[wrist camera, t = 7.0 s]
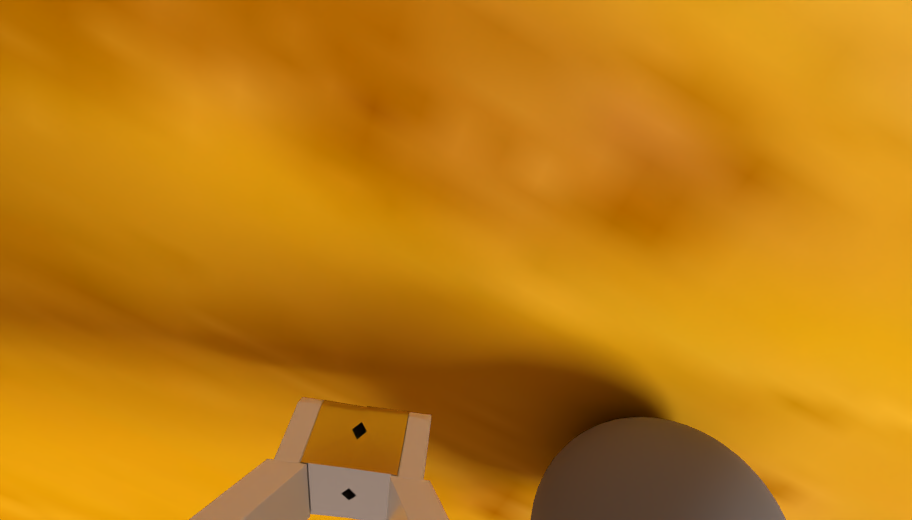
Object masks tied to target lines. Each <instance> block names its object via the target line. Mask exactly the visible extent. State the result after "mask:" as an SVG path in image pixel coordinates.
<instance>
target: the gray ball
mask: <svg viewBox="0 0 912 520" xmlns="http://www.w3.org/2000/svg"><path fill="white" fill-rule="evenodd" d="M531 520H786V519H785V517H784V515H783V513H782V511H781V509H780V507H779V505H778V503H777V502H776V500H775V499H774V497H773V495H772V494H771V493H770V491H769V490H768V488H767V487H766V485H765V484H764V483H763V481H762V480H761V479H760V478H759V477H758V475H757V474H756V473H755V472H754V471H753V470H752V469H751V468H750V467H749V466H748V465H747V464H746V463H745V462H744V461H743V460H742V459H741V458H740V457H739V456H738V455H736V454H735V453H734V452H732V451H731V450H730V449H729V448H727V447H726V446H725V445H723V444H722V443H720V442H719V441H717V440H716V439H714V438H712V437H711V436H709V435H707V434H705V433H703V432H701V431H699V430H697V429H694V428H692V427H689V426H687V425H684V424H681V423H677V422H674V421H670V420H665V419H660V418H653V417H631V418H620V419H616V420H612V421H608V422H605V423H602V424H599V425H597V426H594V427H592V428H590V429H589V430H587V431H585V432H583V433H581V434H580V435H578V436H577V437H576V438H574V439H573V440H572V441H570V442H569V443H568V444H567V445H566V446H565V447H564V448H563V449H562V450H561V451H560V452H559V453H558V454H557V456H556V457H555V458H554V459H553V461H552V462H551V464H550V465H549V467H548V468H547V470H546V472H545V474H544V476H543V478H542V480H541V482H540V484H539V486H538V489H537V492H536V496H535V499H534V503H533V509H532V514H531Z"/></svg>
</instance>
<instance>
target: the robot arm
mask: <svg viewBox="0 0 912 520" xmlns="http://www.w3.org/2000/svg"><path fill="white" fill-rule="evenodd" d="M430 426H431V415H429V414H421V413H414V412H410V414H409V411H402V410H394V409H386V408H378V407H370V406H367V407H363V406H357V405H351V404H345V403H339V402H333V401H327V400H320V399H313V398H307V397H302V398H301V399H300V401H299V402H298V404H297V406H296V408H295V411H294V413H293V415H292V418H291V420H290V423H289V425H288V427H287V430H286V432H285V435H284V437H283V439H282V442H281V444H280V446H279V449H278V451H277V454H276V456H275V458H274V459H266V460H265V461H264V462H263V463H261V464H260V465H259V466H257V467H256V468H255V469H254V470H252V471H251V472H250V473H248V474H247V475H246V476H245V477H243V478H242V479H241V480H239V481H238V482H237V483H236V484H234V485H233V486H232V487H230V488H229V489H228V490H227V491H225V492H224V493H223V494H221V495H220V496H219V497H218V498H216V499H215V500H214V501H212V502H211V503H210V504H209V505H207V506H206V507H205V508H203V509H202V510H201V511H200V512H198V513H197V514H196V515H194V516H193V517H192V518H191V519H189V520H307V519H308V518H309V517H310V514H317V515H327V516H336V517H346V518H353V519H359V520H449V519H448V517H447V515H446V512H445V510H444V508H443V506H442V504H441V502H440V500H439V498H438V496H437V494H436V492H435V490H434V488H433V486H432V484H431V482H430V481H428V480H423V479H424V472H425V464H426V457H427V449H428V441H429V434H430Z"/></svg>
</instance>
